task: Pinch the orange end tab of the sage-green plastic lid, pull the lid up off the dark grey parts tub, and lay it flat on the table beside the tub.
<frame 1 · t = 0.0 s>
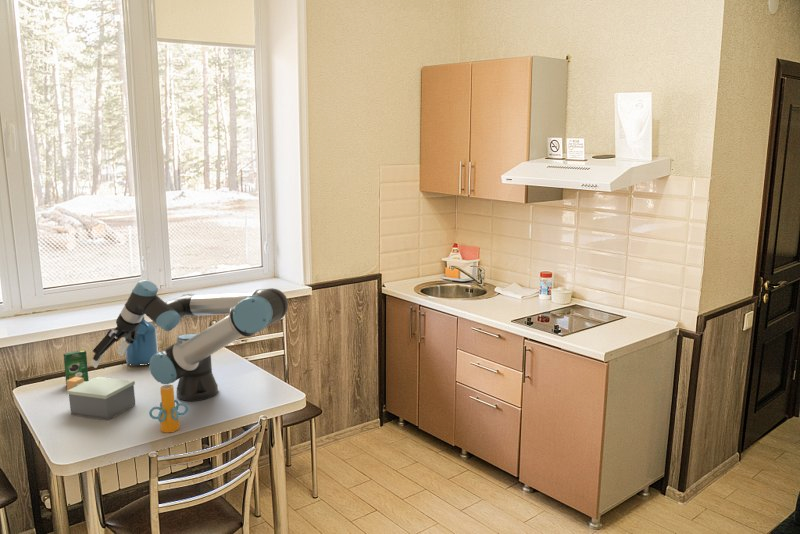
hand: (106, 359, 247), 15 cm above the table, tool tilted 35°, fingers open, 13 cm apart
wine bottle: (142, 362, 291), on the table
orange post with rings: (170, 429, 223), on the table
lid: (101, 388, 238), point 8 cm above the table, touching tub
tub: (103, 409, 240), on the table
coffee box: (77, 383, 266), on the table
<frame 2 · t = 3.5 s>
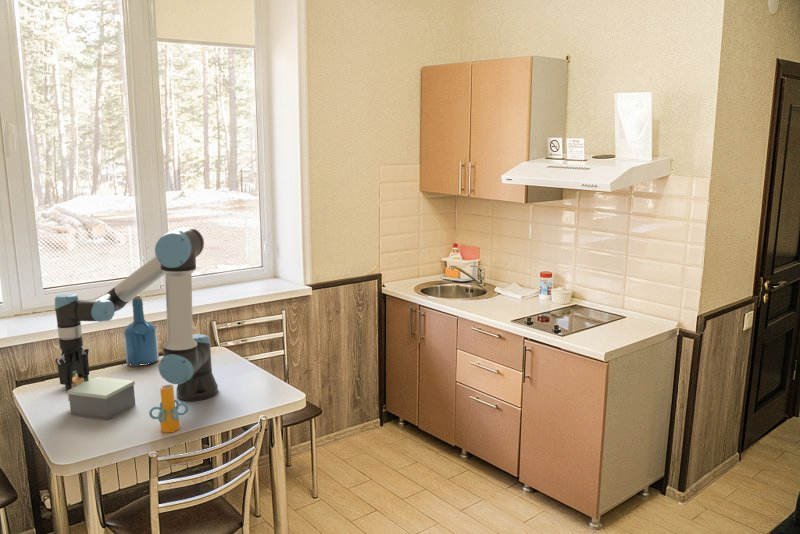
hand: (77, 398, 243), 3 cm above the table, tool pointing down, fingers closed on lid, 4 cm apart
lid: (101, 388, 238), point 8 cm above the table, touching gripper, tub
everything else where it was.
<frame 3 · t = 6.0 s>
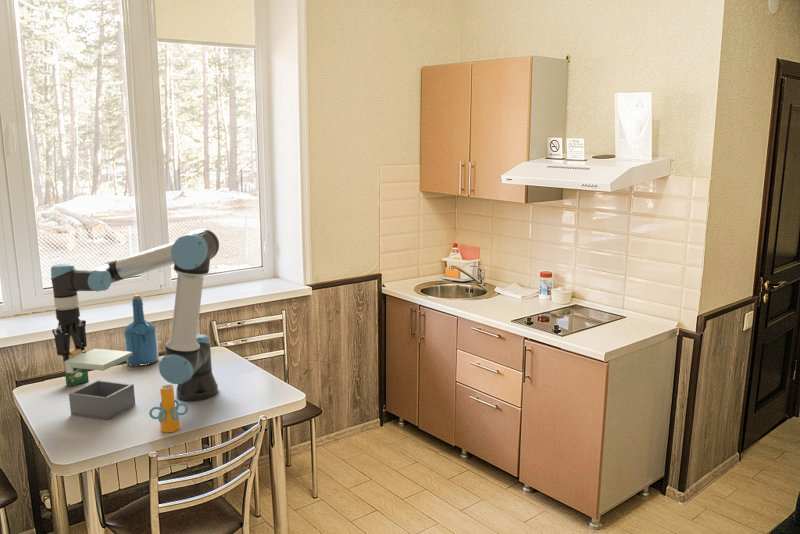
hand: (74, 370, 241), 14 cm above the table, tool pointing down, fingers closed on lid, 4 cm apart
lid: (99, 359, 236), point 19 cm above the table, touching gripper
everything else where it was.
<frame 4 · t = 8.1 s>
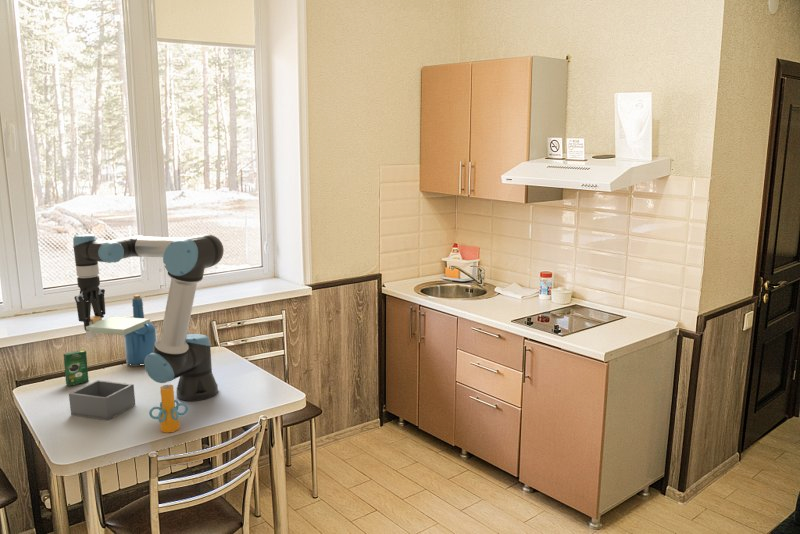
hand: (94, 336, 252), 23 cm above the table, tool pointing down, fingers closed on lid, 4 cm apart
lid: (118, 325, 248), point 27 cm above the table, touching gripper
everything else where it was.
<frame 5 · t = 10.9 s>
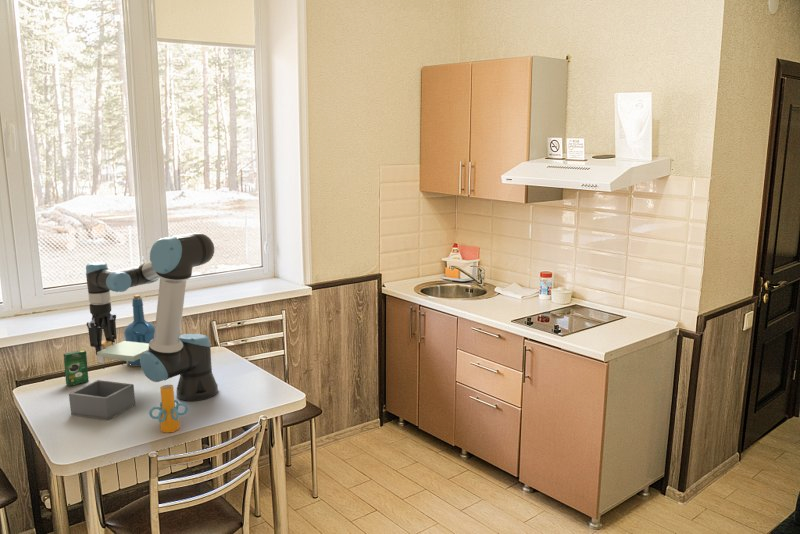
hand: (105, 360, 260), 11 cm above the table, tool pointing down, fingers closed on lid, 4 cm apart
lid: (128, 351, 255), point 16 cm above the table, touching gripper
everything else where it was.
when the fingers open (2 cm above the table, at t = 12.9 s): lid drops 5 cm, point 1 cm above the table.
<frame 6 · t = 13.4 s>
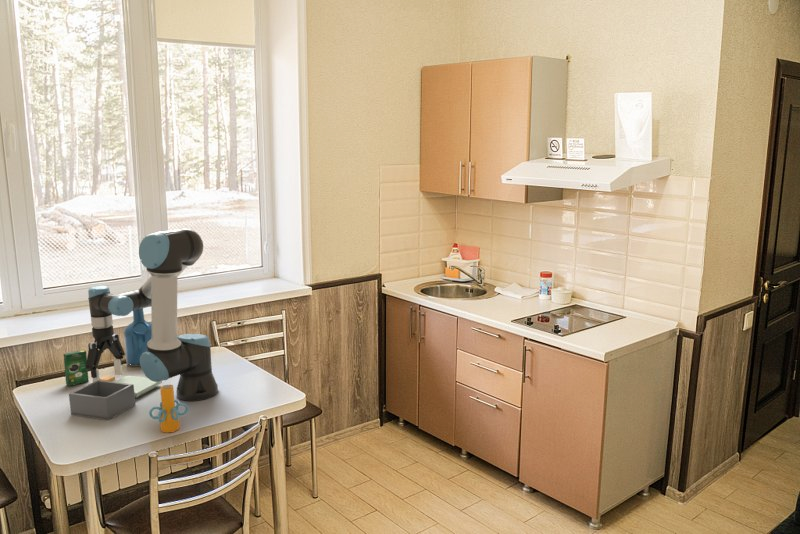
hand: (107, 379, 261), 3 cm above the table, tool pointing down, fingers open, 11 cm apart
lid: (132, 386, 258), point 1 cm above the table
everything else where it was.
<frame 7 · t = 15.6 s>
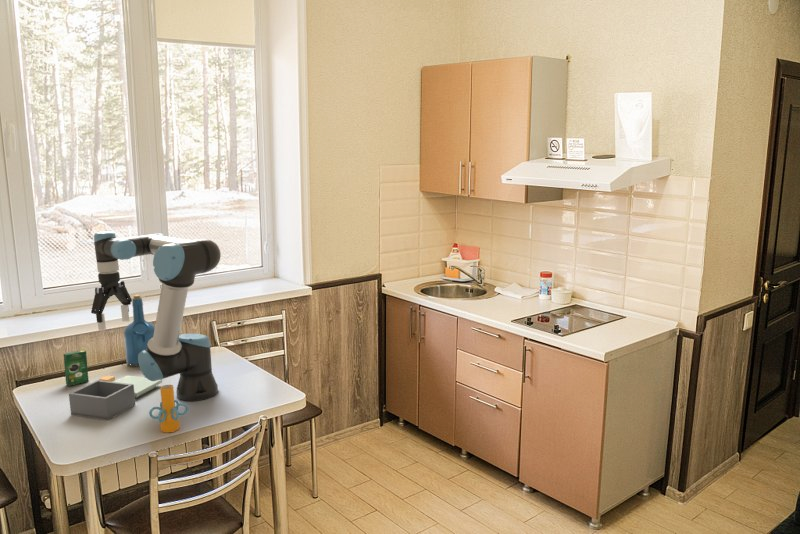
hand: (114, 325, 259), 25 cm above the table, tool pointing down, fingers open, 13 cm apart
nothing on the table moved.
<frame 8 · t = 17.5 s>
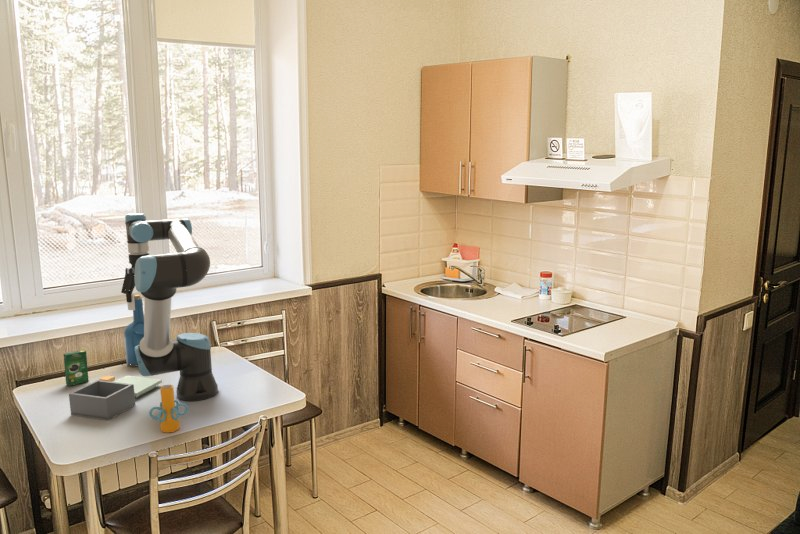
hand: (143, 305, 264), 31 cm above the table, tool pointing down, fingers open, 13 cm apart
nothing on the table moved.
at the end: lid touching table; lid inside the target area (0.9 cm from its centre), point 1.4 cm above the table; lid tilted 0° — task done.
